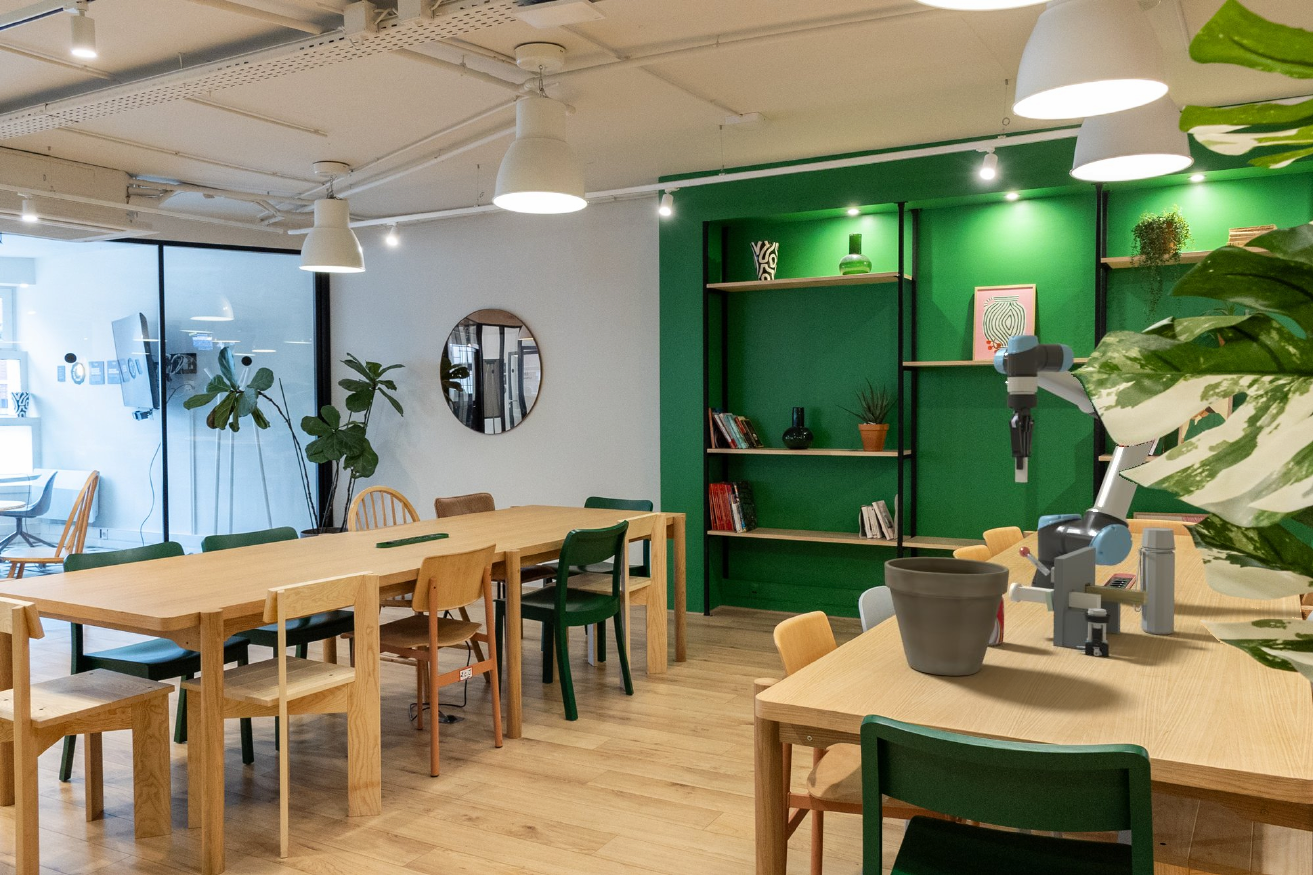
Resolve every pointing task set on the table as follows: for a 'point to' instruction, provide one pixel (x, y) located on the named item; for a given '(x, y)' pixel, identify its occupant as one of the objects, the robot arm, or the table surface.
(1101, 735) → the table surface
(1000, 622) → the soda can
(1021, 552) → the toggle lever
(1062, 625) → the panel
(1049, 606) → the rocker
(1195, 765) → the table surface
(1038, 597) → the white plunger
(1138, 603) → the brass plunger
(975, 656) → the plant pot
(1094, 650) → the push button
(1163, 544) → the water bottle
